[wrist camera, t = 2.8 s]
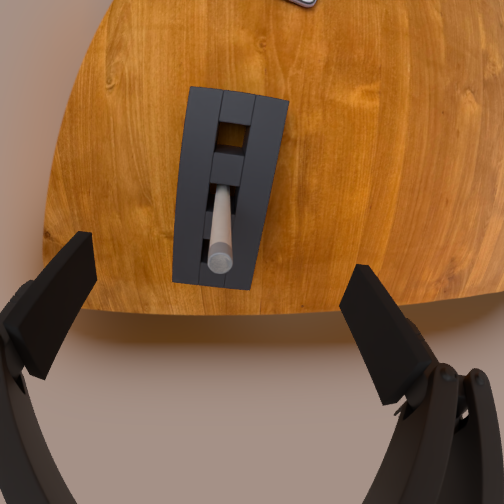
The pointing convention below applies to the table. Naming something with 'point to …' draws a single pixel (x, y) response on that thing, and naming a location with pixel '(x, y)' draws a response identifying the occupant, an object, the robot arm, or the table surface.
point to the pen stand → (225, 182)
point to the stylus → (221, 232)
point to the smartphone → (304, 2)
